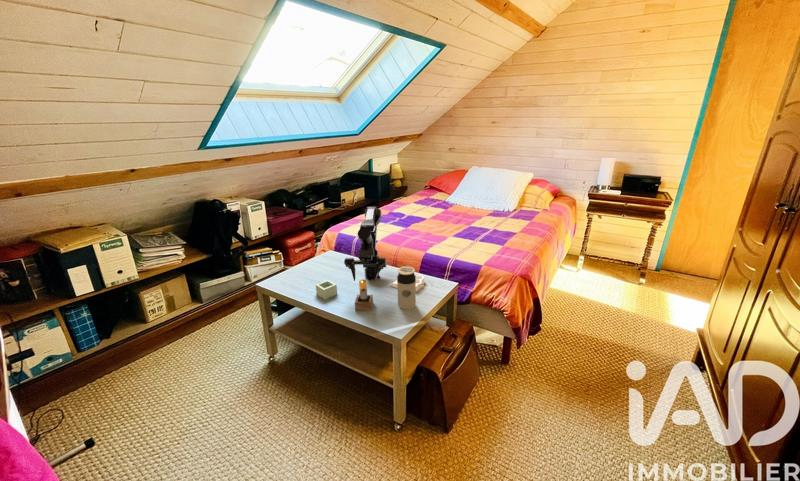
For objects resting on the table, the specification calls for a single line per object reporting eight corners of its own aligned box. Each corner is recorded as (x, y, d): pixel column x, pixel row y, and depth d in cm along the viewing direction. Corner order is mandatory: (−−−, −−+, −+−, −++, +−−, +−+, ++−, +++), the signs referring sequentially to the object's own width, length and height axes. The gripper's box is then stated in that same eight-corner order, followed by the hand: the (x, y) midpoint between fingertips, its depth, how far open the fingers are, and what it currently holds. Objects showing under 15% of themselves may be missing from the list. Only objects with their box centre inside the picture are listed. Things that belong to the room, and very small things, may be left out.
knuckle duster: (406, 276, 190) (430, 284, 182) (386, 291, 177) (411, 299, 169) (406, 271, 189) (430, 278, 181) (385, 285, 175) (410, 293, 167)
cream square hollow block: (329, 290, 177) (328, 279, 175) (337, 295, 173) (336, 284, 170) (316, 295, 173) (315, 284, 171) (324, 301, 168) (323, 289, 166)
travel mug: (400, 300, 167) (400, 265, 161) (417, 302, 165) (417, 267, 159) (395, 309, 160) (394, 273, 154) (413, 312, 158) (412, 275, 152)
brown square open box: (357, 304, 165) (357, 294, 163) (373, 304, 165) (372, 294, 163) (355, 312, 159) (354, 302, 157) (371, 312, 158) (370, 302, 156)
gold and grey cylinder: (366, 304, 163) (365, 279, 159) (368, 307, 160) (367, 282, 156) (359, 305, 162) (358, 280, 158) (361, 309, 159) (360, 283, 155)
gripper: (343, 241, 161) (340, 274, 155) (385, 241, 161) (383, 275, 154) (347, 250, 172) (345, 282, 165) (387, 250, 171) (385, 282, 164)
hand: (364, 280), depth 162 cm, fingers open, 9 cm apart
